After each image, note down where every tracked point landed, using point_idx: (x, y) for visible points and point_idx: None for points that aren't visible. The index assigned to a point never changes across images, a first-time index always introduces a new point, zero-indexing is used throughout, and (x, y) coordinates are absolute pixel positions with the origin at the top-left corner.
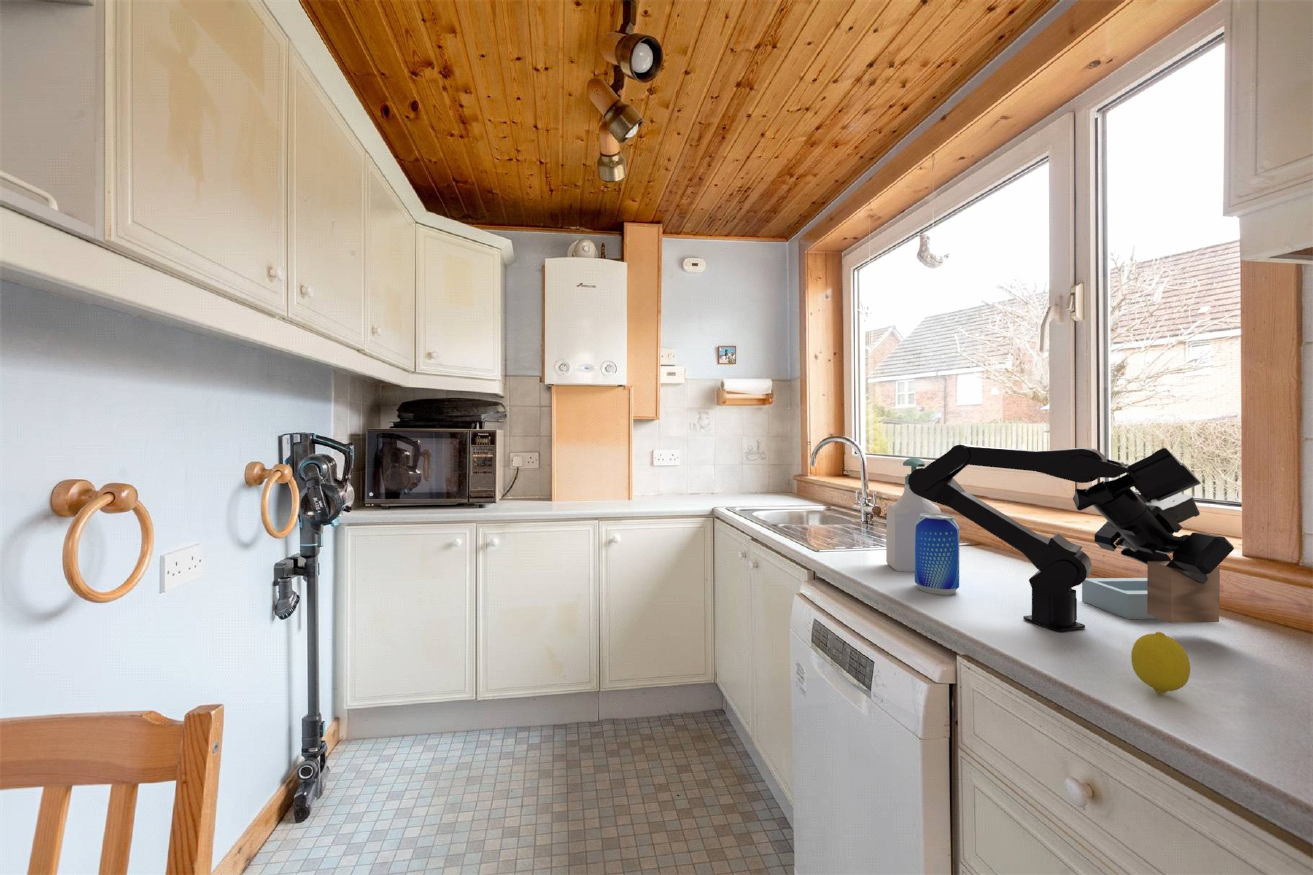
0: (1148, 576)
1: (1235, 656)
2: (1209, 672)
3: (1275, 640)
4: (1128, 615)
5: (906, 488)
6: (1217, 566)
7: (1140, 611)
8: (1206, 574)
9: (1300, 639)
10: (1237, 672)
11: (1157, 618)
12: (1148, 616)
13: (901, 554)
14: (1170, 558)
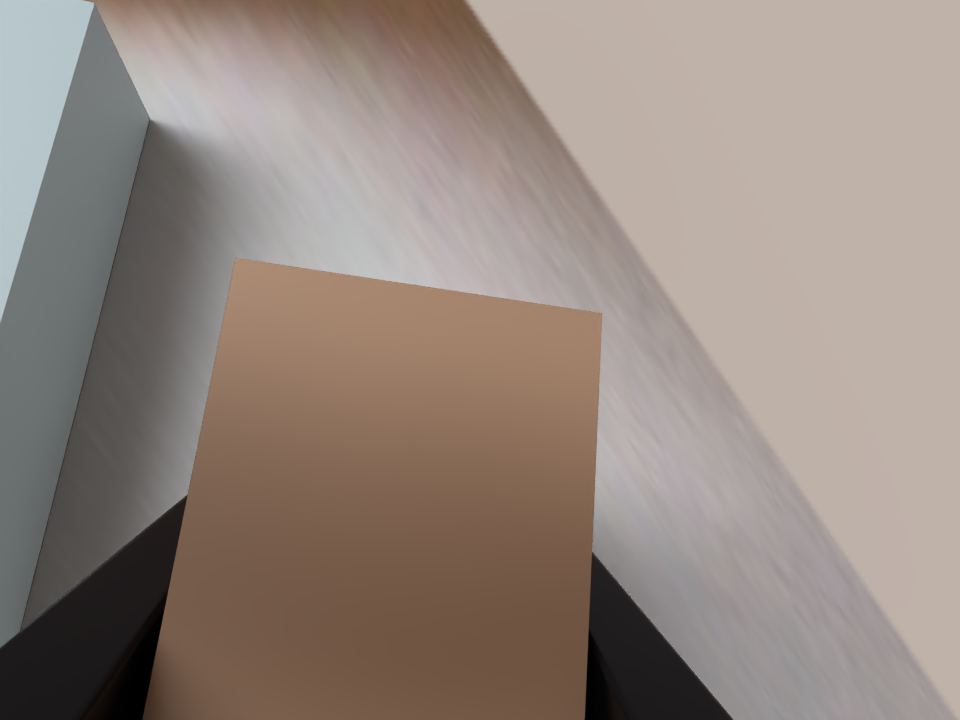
0: None
1: (640, 607)
2: None
3: (485, 162)
4: (3, 641)
5: None
6: (581, 318)
7: (16, 543)
8: (619, 586)
9: (489, 43)
10: None
11: (72, 416)
12: (51, 482)
13: None
14: (116, 661)
